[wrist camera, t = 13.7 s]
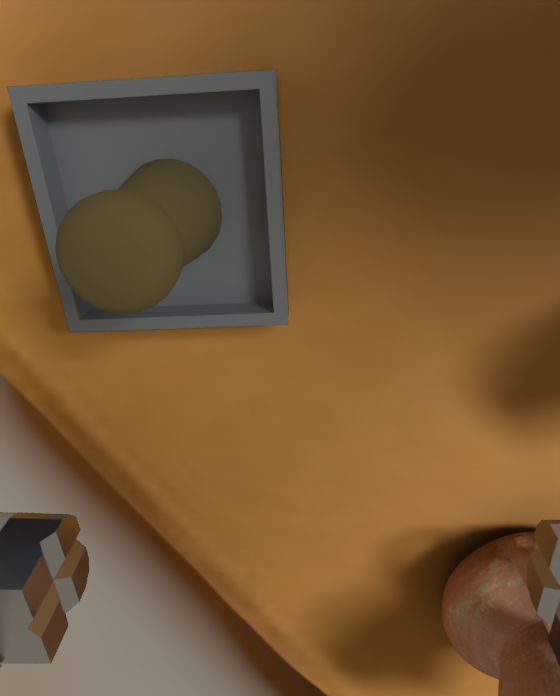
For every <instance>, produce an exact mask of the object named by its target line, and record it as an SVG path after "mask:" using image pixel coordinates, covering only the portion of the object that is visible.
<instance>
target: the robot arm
mask: <svg viewBox="0 0 560 696" xmlns="http://www.w3.org/2000/svg"><path fill="white" fill-rule="evenodd" d="M79 532H80V527H79V524H78V521H77V519H76V517H75V516H73V515H67V514H42V513H3V512H0V668H1V666H2V665H1V663H51V662H52V660H53V658H54V656H55V653H56V652H57V649H58V647H59V645H60V642H61V641H62V638H63V636H64V634H65V632H66V630H67V628H68V622H67V618H66V614H65V613H66V612H67V611H69V610H70V609H71V608H72V607H74V606H75V605H76V604H77V603H78V602H79V601H80V599H81V597H82V594H83V592H84V590H85V587H86V583H87V577H88V573H89V558H88V554H87V550H86V547H85V546H84V545H82V544H81V543H80V542H79V541H78V540H76V537H77V535H78V533H79ZM534 538H535V540H536V542H537V544H538V546H539V547H538V548H537V549H536V550H535V551H533V552H532V553H531V554H530V555H529V557H528V562H527V567H526V576H527V587H528V591H529V594H530V598H531V601H532V603H533V606H534V608H535V611H536V613H537V614H538V615H539V616H540V617H542V618H543V619H544V620H545V621H546V622H547V623H549V624H550V625H551V630H550V633H549V636H548V641H549V643H550V646H551V648H552V650H553V652H554V655H555V657H556V659H557V662H558V664H559V666H560V520H541V521H540V522H539V523H538V525H537V526H536V530H535V534H534Z"/></svg>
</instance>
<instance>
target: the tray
mask: <svg viewBox="0 0 560 696" xmlns="http://www.w3.org/2000/svg"><path fill="white" fill-rule="evenodd" d="M7 89H8V93H9V97H10V101H11V105H12V109H13V113H14V117H15V121H16V124H17V128H18V132H19V136H20V140H21V144H22V148H23V152H24V156H25V160H26V164H27V168H28V172H29V176H30V180H31V183H32V187H33V191H34V195H35V199H36V203H37V207H38V211H39V215H40V219H41V223H42V227H43V231H44V235H45V239H46V243H47V246H48V250H49V254H50V258H51V262H52V266H53V270H54V274H55V278H56V282H57V286H58V290H59V294H60V298H61V302H62V305H63V309H64V313H65V317H66V321H67V325H68V329H69V332H95V331H123V330H152V329H180V328H208V327H236V326H264V325H288V312H289V307H288V287H287V267H286V247H285V227H284V207H283V187H282V167H281V147H280V127H279V107H278V87H277V72H276V71H275V70H260V71H245V72H229V73H214V74H198V75H183V76H167V77H151V78H136V79H120V80H105V81H89V82H74V83H58V84H43V85H27V86H11V87H7ZM170 158H174V159H177V160H180V161H183V162H187V163H190V164H191V165H193V166H194V167H195V168H197V169H198V170H200V171H201V172H203V173H204V174H205V175H206V177H207V178H208V179H209V180H210V182H211V183H212V184H213V185H214V187H215V189H216V191H217V194H218V196H219V199H220V201H221V209H222V223H221V227H220V231H219V235H218V236H217V238H216V240H215V241H214V243H213V244H212V246H211V247H210V248H209V249H208V250H207V251H205V252H204V253H203V254H202V255H200V256H199V257H197V258H196V259H194V260H193V261H191V262H189V263H188V264H186V265H185V266H183V267H182V269H181V274H180V277H179V279H178V280H177V282H176V284H175V285H174V287H173V289H172V290H171V292H170V293H169V295H168V296H167V297H166V298H164V299H163V300H162V301H160V302H159V303H158V304H157V305H155V306H154V307H151V308H148V309H145V310H142V311H139V312H137V313H133V314H115V313H111V312H108V311H104V310H101V309H98V308H96V307H94V306H93V305H91V304H89V303H88V302H86V301H84V300H83V299H81V298H80V297H79V296H78V295H77V294H76V293H75V292H74V291H73V290H72V289H71V287H70V286H69V285H68V283H67V282H66V280H65V278H64V276H63V275H62V273H61V271H60V269H59V265H58V261H57V257H56V252H55V247H56V236H57V231H58V229H59V227H60V225H61V223H62V221H63V219H64V217H65V215H66V213H67V212H68V211H69V210H70V209H71V208H72V207H73V206H74V205H75V204H76V203H77V202H78V201H79V200H81V199H83V198H85V197H88V196H90V195H93V194H95V193H98V192H100V191H103V190H117V189H118V188H119V187H120V186H121V185H122V184H123V183H124V182H125V181H126V179H127V178H128V177H129V176H130V175H131V174H132V173H133V172H135V171H136V170H137V169H138V168H139V167H140V166H141V165H143V164H145V163H148V162H150V161H153V160H155V159H170Z"/></svg>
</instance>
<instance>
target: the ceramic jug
mask: <svg viewBox="0 0 560 696" xmlns="http://www.w3.org/2000/svg"><path fill="white" fill-rule="evenodd" d="M534 534H535V531H528V532H519V533H514V534H510V535H506V536H503V537H500V538H498V539H495V540H493V541H491V542H489V543H487V544H485V545H483V546H481V547H479V548H478V549H476V550H475V551H473V552H472V553H471V554H469V555H468V556H467V557H466V558H464V559H463V560H462V561H461V562H460V563H459V564H458V565H457V567H456V568H455V569H454V571H453V572H452V574H451V575H450V577H449V579H448V581H447V583H446V586H445V588H444V592H443V596H442V604H441V615H442V623H443V627H444V630H445V633H446V635H447V637H448V639H449V641H450V643H451V644H452V646H453V647H454V649H455V650H456V651H457V652H458V654H459V655H460V656H461V657H462V658H463V659H464V660H465V661H466V662H468V663H469V664H470V665H471V666H473V667H474V668H476V669H477V670H479V671H481V672H482V673H484V674H486V675H489V676H491V677H494V678H496V679H499V688H498V696H560V666H559V664H558V662H557V659H556V657H555V655H554V652H553V650H552V648H551V646H550V643H549V641H548V636H549V633H550V630H551V625H550V624H549V623H547V622H546V621H545V620H544V619H543V618H542V617H540V616H539V615H538V614H537V613H536V611H535V608H534V606H533V603H532V601H531V598H530V594H529V591H528V587H527V576H526V567H527V562H528V557H529V555H530V554H531V553H532V552H533V551H535V550H536V549H537V548H538V547H539V546H538V544H537V542H536V540H535V538H534Z"/></svg>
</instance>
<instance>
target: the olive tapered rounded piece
mask: <svg viewBox="0 0 560 696" xmlns="http://www.w3.org/2000/svg"><path fill="white" fill-rule="evenodd" d="M221 223H222V209H221V201H220V199H219V196H218V194H217V191H216V189H215V187H214V185H213V184H212V183H211V182H210V180H209V179H208V178H207V177H206V175H205V174H204V173H203V172H201V171H200V170H198V169H197V168H195V167H194V166H193V165H191V164H190V163H187V162H183V161H180V160H177V159H174V158H170V159H155V160H153V161H150V162H148V163H145V164H143V165H141V166H140V167H139V168H138V169H137V170H136V171H135V172H133V173H132V174H131V175H130V176H129V177H128V178H127V179H126V181H125V182H124V183H123V184H122V185H121V186H120V187H119V188H118V189H117V190H103V191H100V192H98V193H95V194H93V195H90V196H88V197H85V198H83V199H81V200H79V201H78V202H77V203H76V204H75V205H74V206H73V207H72V208H71V209H70V210H69V211H68V212H67V213H66V215H65V217H64V219H63V221H62V223H61V225H60V227H59V229H58V231H57V236H56V247H55V252H56V257H57V261H58V265H59V269H60V271H61V273H62V275H63V276H64V278H65V280H66V282H67V283H68V285H69V286H70V287H71V289H72V290H73V291H74V292H75V293H76V294H77V295H78V296H79V297H80V298H81V299H83V300H84V301H86V302H88V303H89V304H91V305H93V306H94V307H96V308H98V309H101V310H104V311H108V312H111V313H115V314H133V313H137V312H139V311H142V310H145V309H148V308H151V307H154V306H155V305H157V304H158V303H159V302H160V301H162V300H163V299H164V298H166V297H167V296H168V295H169V293H170V292H171V290H172V289H173V287H174V285H175V284H176V282H177V280H178V279H179V277H180V274H181V269H182V267H183V266H185V265H186V264H188V263H189V262H191V261H193V260H194V259H196V258H197V257H199V256H200V255H202V254H203V253H204V252H205V251H207V250H208V249H209V248H210V247H211V246H212V244H213V243H214V241H215V240H216V238H217V236H218V235H219V231H220V227H221Z"/></svg>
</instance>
